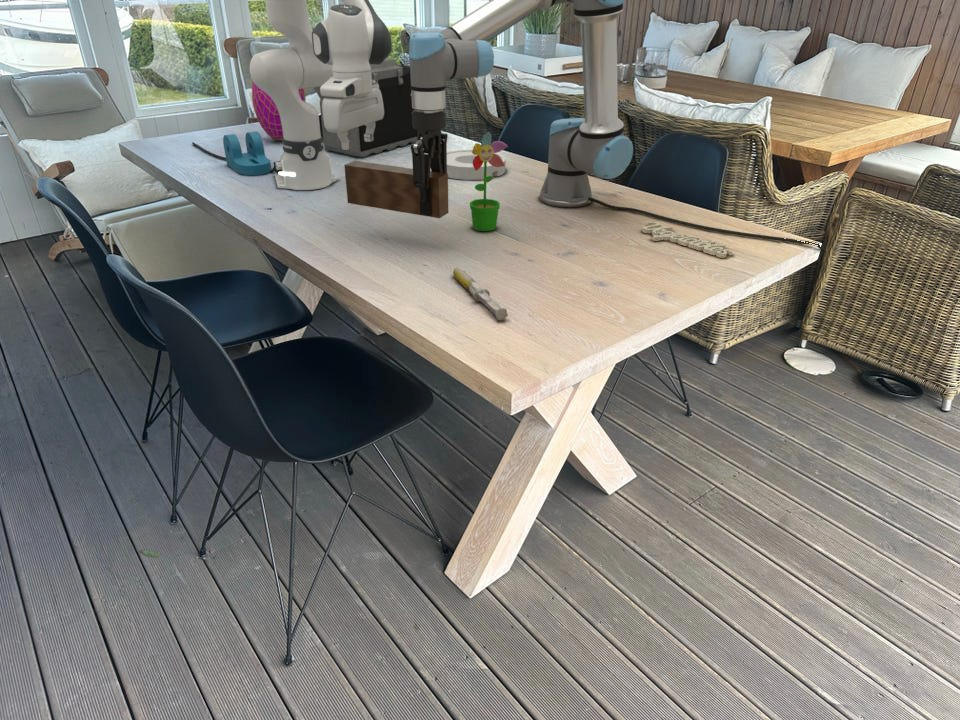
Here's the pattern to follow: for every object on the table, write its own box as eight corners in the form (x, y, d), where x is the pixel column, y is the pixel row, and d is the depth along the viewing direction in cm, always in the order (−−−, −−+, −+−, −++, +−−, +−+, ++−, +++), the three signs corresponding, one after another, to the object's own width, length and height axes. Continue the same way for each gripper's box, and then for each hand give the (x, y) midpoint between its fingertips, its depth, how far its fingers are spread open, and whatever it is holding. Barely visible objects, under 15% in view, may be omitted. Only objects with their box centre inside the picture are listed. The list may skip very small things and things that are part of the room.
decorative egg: (293, 132, 276) (283, 50, 261) (319, 140, 264) (310, 56, 249) (249, 139, 265) (236, 54, 250) (273, 148, 253) (261, 60, 238)
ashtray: (439, 160, 240) (438, 148, 238) (505, 161, 240) (505, 150, 238) (433, 179, 220) (432, 166, 218) (505, 180, 220) (505, 168, 218)
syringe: (449, 274, 155) (449, 263, 153) (465, 272, 156) (464, 260, 154) (490, 323, 135) (491, 310, 133) (508, 319, 136) (508, 307, 134)
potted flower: (476, 234, 177) (477, 135, 164) (462, 225, 183) (462, 128, 170) (508, 229, 181) (511, 131, 168) (493, 220, 187) (496, 125, 174)
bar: (448, 212, 165) (448, 173, 161) (439, 218, 162) (438, 178, 157) (357, 198, 175) (354, 160, 170) (347, 203, 171) (344, 164, 166)
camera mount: (227, 164, 233) (221, 132, 227) (257, 160, 238) (252, 129, 233) (244, 176, 220) (239, 143, 215) (276, 172, 225) (271, 139, 220)
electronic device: (383, 133, 276) (378, 52, 261) (425, 141, 265) (422, 56, 250) (314, 150, 251) (304, 61, 235) (358, 160, 240) (350, 67, 224)
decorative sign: (628, 228, 179) (651, 220, 185) (628, 232, 180) (651, 224, 186) (717, 257, 162) (740, 248, 168) (716, 261, 163) (739, 251, 169)
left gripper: (366, 77, 168) (370, 135, 175) (315, 89, 152) (322, 152, 159) (388, 79, 166) (392, 138, 172) (338, 90, 150) (344, 155, 156)
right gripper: (432, 101, 161) (435, 199, 173) (393, 115, 147) (399, 220, 159) (461, 104, 158) (462, 203, 170) (424, 118, 144) (427, 224, 156)
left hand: (358, 145), depth 165 cm, fingers open, 8 cm apart
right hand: (431, 211), depth 164 cm, fingers closed on bar, 5 cm apart
